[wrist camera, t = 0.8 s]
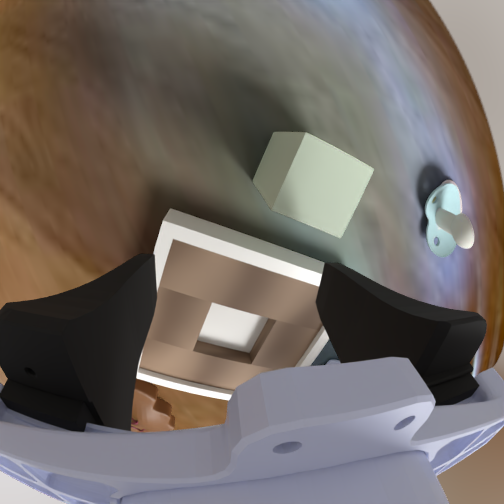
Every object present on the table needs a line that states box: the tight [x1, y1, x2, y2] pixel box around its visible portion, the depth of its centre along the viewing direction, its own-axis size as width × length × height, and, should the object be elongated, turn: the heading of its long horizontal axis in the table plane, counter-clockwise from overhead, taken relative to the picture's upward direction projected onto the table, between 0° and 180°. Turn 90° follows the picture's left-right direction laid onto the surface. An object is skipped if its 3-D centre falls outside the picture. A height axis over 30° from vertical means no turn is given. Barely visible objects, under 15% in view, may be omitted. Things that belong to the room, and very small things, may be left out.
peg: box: [252, 132, 374, 238], centre depth 17 cm, size 4×4×8 cm
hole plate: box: [139, 239, 323, 391], centre depth 24 cm, size 14×14×2 cm
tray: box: [136, 208, 329, 400], centre depth 24 cm, size 16×16×3 cm
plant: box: [131, 378, 175, 433], centre depth 25 cm, size 20×20×11 cm
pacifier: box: [425, 180, 474, 257], centre depth 21 cm, size 7×6×6 cm
